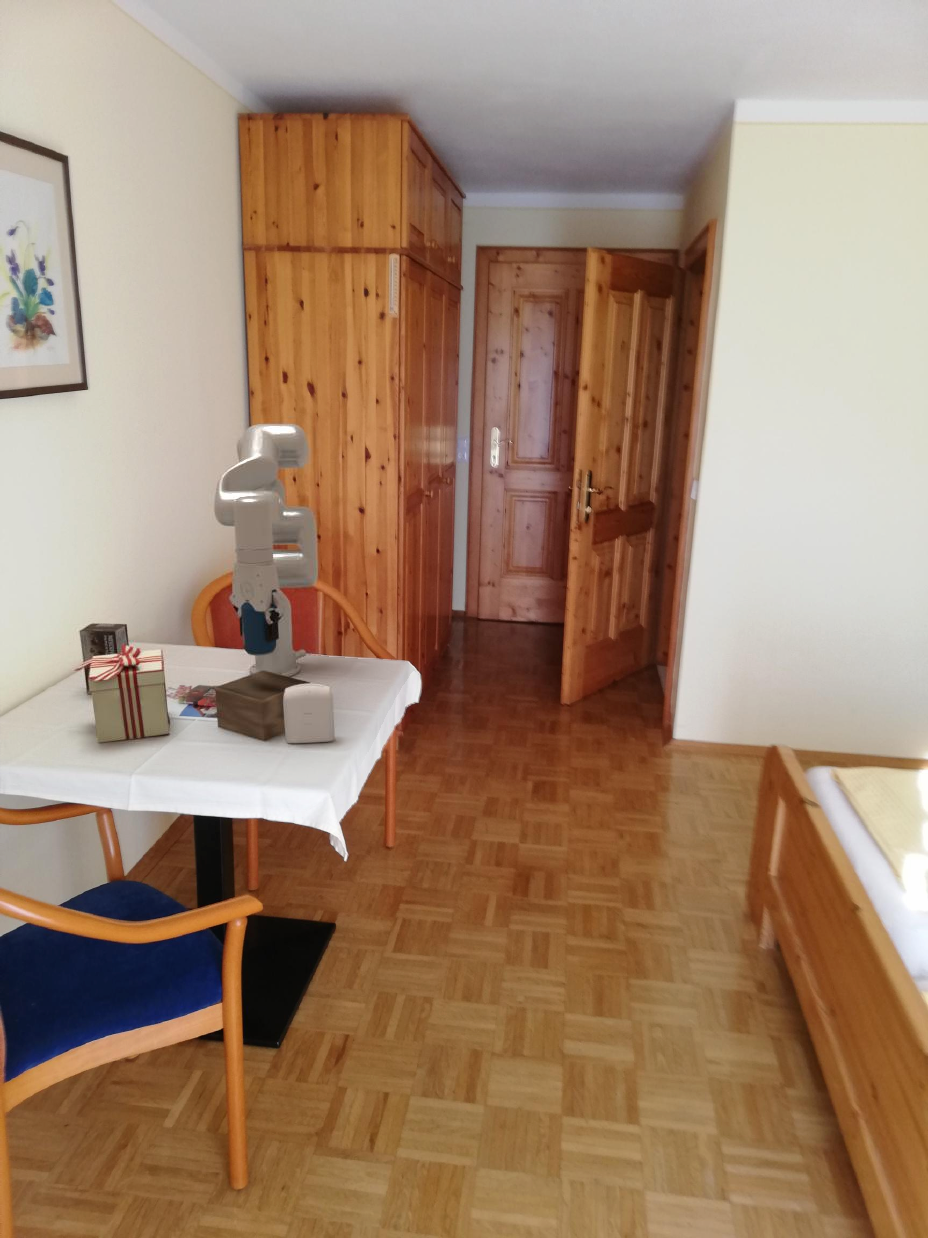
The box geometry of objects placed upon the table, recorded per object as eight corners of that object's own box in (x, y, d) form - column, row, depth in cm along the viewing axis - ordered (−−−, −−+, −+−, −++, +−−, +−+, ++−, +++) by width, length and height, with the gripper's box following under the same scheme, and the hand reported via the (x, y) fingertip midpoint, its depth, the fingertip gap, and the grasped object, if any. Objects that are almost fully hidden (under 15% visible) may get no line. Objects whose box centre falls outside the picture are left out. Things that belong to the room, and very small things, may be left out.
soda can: (283, 651, 199) (280, 597, 196) (255, 658, 195) (252, 602, 191) (264, 645, 204) (261, 591, 201) (237, 651, 199) (233, 597, 196)
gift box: (80, 722, 204) (71, 647, 200) (167, 710, 212) (161, 637, 207) (82, 750, 189) (73, 670, 185) (176, 737, 196) (169, 659, 192)
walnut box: (265, 707, 213) (263, 670, 211) (311, 720, 206) (309, 682, 203) (216, 726, 202) (213, 687, 199) (263, 741, 194) (261, 700, 192)
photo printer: (284, 745, 192) (281, 688, 189) (286, 737, 196) (283, 681, 193) (334, 743, 193) (332, 687, 190) (335, 735, 197) (333, 680, 194)
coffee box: (134, 687, 226) (128, 623, 222) (122, 696, 220) (115, 630, 216) (98, 686, 227) (91, 622, 223) (85, 695, 221) (78, 629, 217)
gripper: (212, 553, 196) (218, 635, 200) (271, 563, 186) (276, 648, 191) (239, 548, 202) (244, 627, 206) (298, 557, 192) (301, 640, 197)
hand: (259, 637), depth 198 cm, fingers closed on soda can, 7 cm apart
